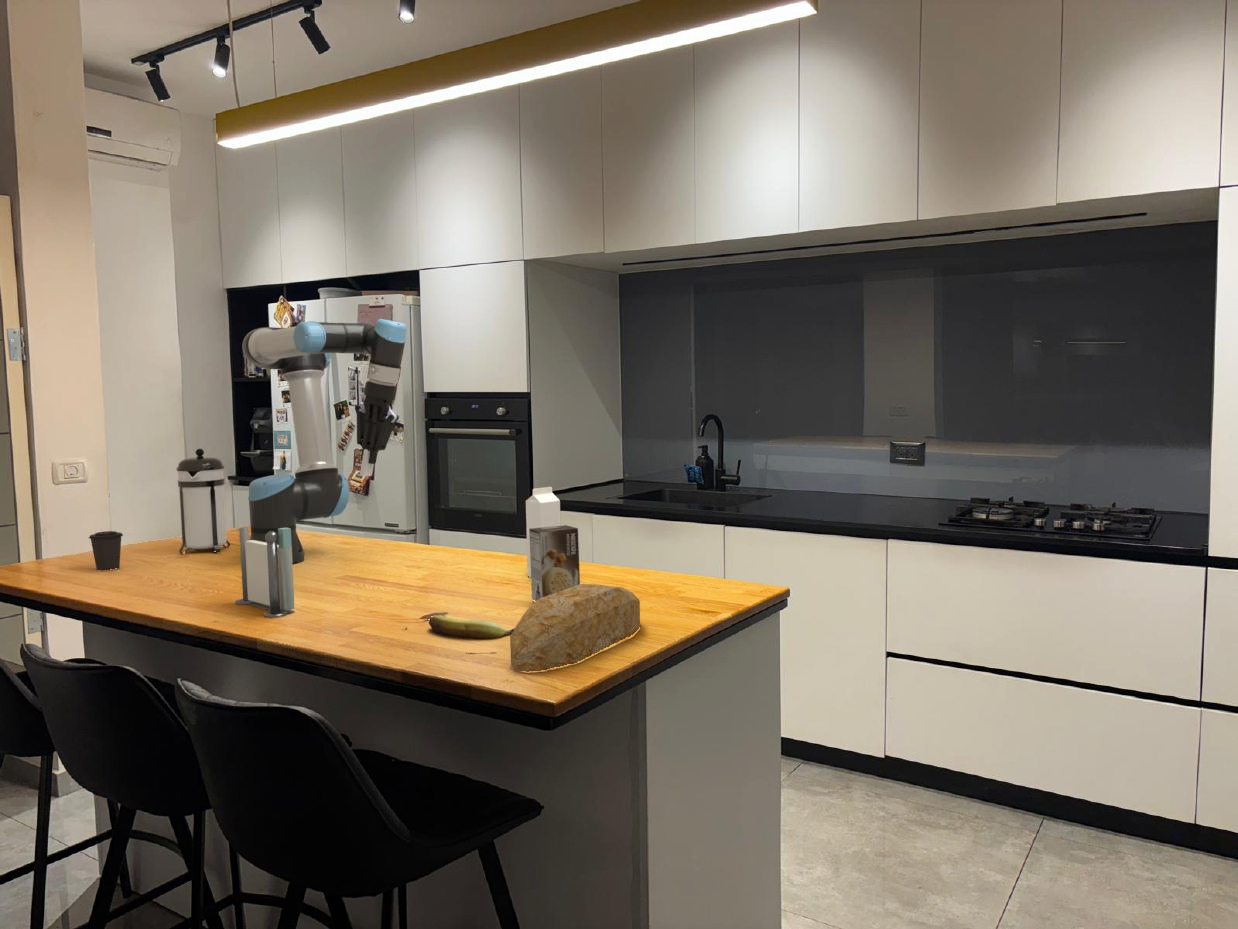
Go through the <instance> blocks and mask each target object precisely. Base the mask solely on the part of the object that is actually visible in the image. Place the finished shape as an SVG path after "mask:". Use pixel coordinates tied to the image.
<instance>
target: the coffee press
mask: <svg viewBox="0 0 1238 929" xmlns="http://www.w3.org/2000/svg"><path fill="white" fill-rule="evenodd" d="M204 453H205V451H204V450H203V448H198V449H196V450H195V455H196V457H189V458H184V459H182V460H181V461H180V462H178V465H177V467H176V468H175V469H176V472H177V477H178V480H177V487H178V493H179V496H178V497H179V510H180V526H181V542H182V545H181V547H180V548H179V550H178V553H179V554H180V553H183V550H184V548H185V550H184V551H185V552H187V553H188V551H190V550H203V549H209V550H210V549H211V550H212V552H213V551H216V552H221V549H220V547H221V546H222V547H224V548H226V546H230V547H231V543H230V542H229V540H227V539H228V538H227V536H228V534H227V520H226V519H227V516H226V514H227V513H226V500H225V499H226V498H225V484H226V483H225V482H226V481H225V477H224V470H225V465H224V464H223V461H222V460H220V459H219V458H217V457H211V456H210V457H209V456H204ZM226 544H227V545H226Z"/></svg>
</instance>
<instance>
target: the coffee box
mask: <svg viewBox="0 0 1238 929" xmlns="http://www.w3.org/2000/svg"><path fill="white" fill-rule="evenodd" d="M529 533H530V559H531V578H530V583H531V600H532V599H533V600H535V601H537V600H538V599H540V598H543V597H545V596H548V595H551V594H554V593H557V592H560V591H563V590H566V589H568V588H571V587H574V586H577V585H580V584H581V578H580V576H581V575H580V571H581V570H580V548H579V528H578V527H574V526H571V525H566V524H565V525H564V524H563V525H560V526H552V527H541V528H531V529H529Z"/></svg>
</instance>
